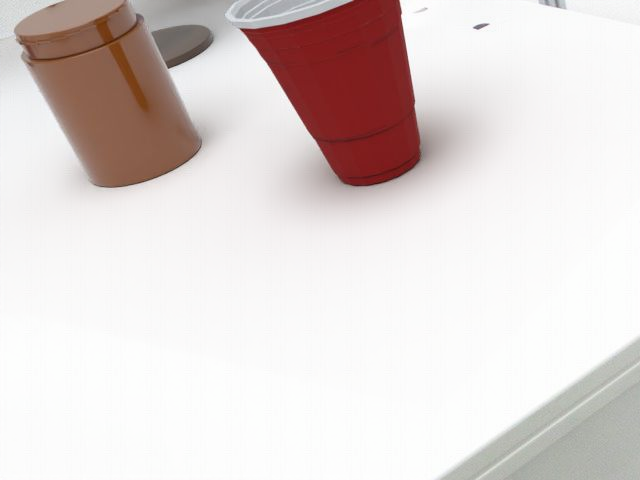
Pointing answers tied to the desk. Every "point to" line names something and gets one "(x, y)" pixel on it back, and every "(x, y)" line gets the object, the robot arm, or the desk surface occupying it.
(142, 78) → the jar
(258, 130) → the desk surface
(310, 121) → the plastic cup
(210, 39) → the coaster
